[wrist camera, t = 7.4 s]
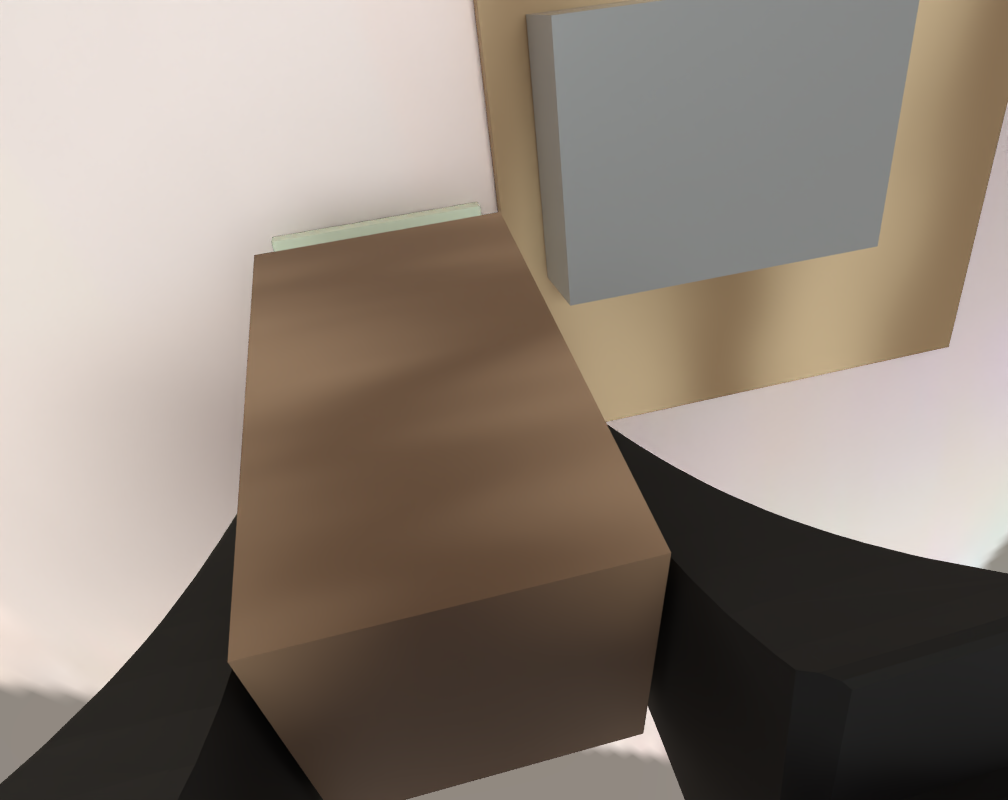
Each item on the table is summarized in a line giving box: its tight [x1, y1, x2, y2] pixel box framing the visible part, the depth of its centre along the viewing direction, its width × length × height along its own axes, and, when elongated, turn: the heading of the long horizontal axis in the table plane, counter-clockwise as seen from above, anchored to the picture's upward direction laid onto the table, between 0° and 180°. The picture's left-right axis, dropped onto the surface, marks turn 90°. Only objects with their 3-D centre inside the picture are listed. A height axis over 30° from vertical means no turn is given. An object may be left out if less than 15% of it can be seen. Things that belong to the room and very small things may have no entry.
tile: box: [526, 0, 919, 306], centre depth 16 cm, size 8×2×6 cm
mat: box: [474, 0, 1008, 422], centre depth 18 cm, size 14×14×1 cm
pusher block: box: [228, 212, 671, 800], centre depth 10 cm, size 4×4×7 cm
